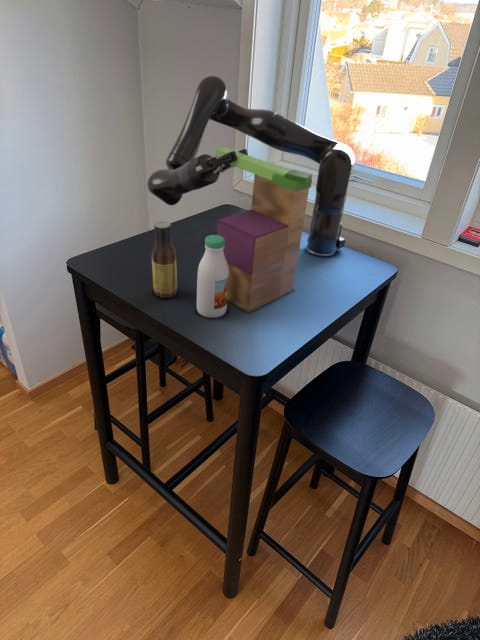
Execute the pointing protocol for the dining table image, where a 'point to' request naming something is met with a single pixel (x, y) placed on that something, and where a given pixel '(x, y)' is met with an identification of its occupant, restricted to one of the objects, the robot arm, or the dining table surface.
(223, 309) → the milk bottle
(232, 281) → the oak stand
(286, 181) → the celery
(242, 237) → the towel
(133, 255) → the dining table surface
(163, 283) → the sauce bottle
